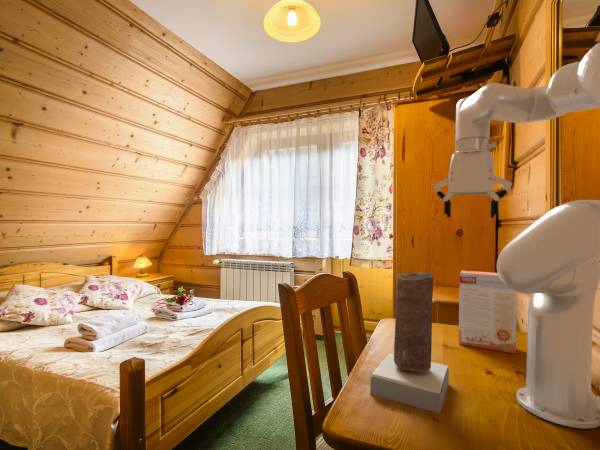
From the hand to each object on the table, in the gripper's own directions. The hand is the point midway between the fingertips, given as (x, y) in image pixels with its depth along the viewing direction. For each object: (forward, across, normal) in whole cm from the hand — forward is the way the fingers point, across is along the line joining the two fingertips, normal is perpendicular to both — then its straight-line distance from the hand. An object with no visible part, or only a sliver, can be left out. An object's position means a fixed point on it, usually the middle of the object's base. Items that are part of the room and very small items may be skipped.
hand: (469, 217), depth 82 cm
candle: (+32, +10, +21) cm, 40 cm away
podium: (+36, +10, +21) cm, 43 cm away
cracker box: (+36, -5, -15) cm, 40 cm away
